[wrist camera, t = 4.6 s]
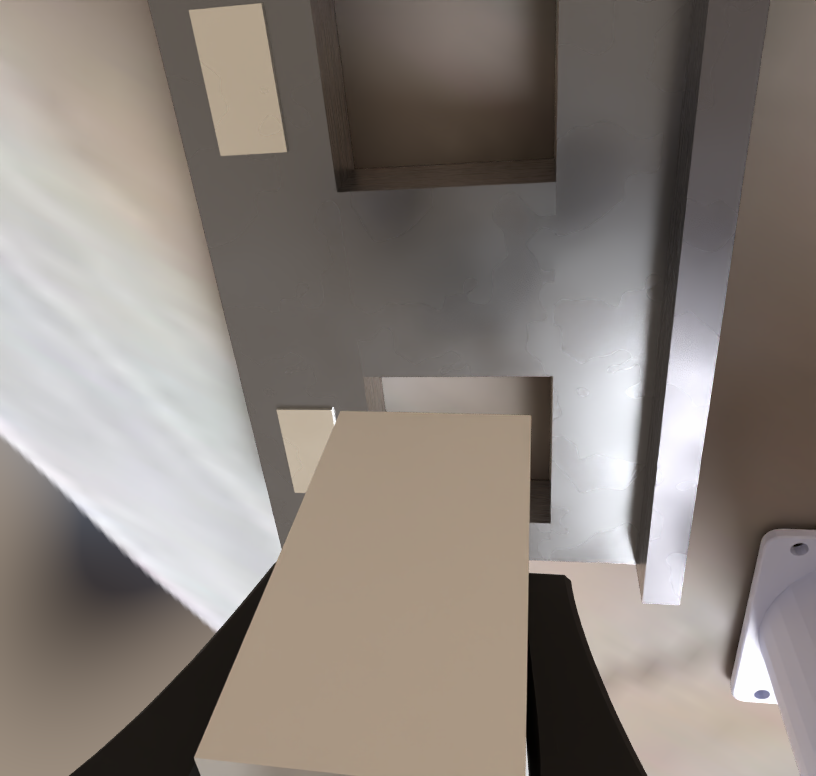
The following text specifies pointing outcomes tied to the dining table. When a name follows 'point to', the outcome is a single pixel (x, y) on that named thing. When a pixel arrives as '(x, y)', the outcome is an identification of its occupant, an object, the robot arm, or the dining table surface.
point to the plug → (392, 611)
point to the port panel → (484, 252)
